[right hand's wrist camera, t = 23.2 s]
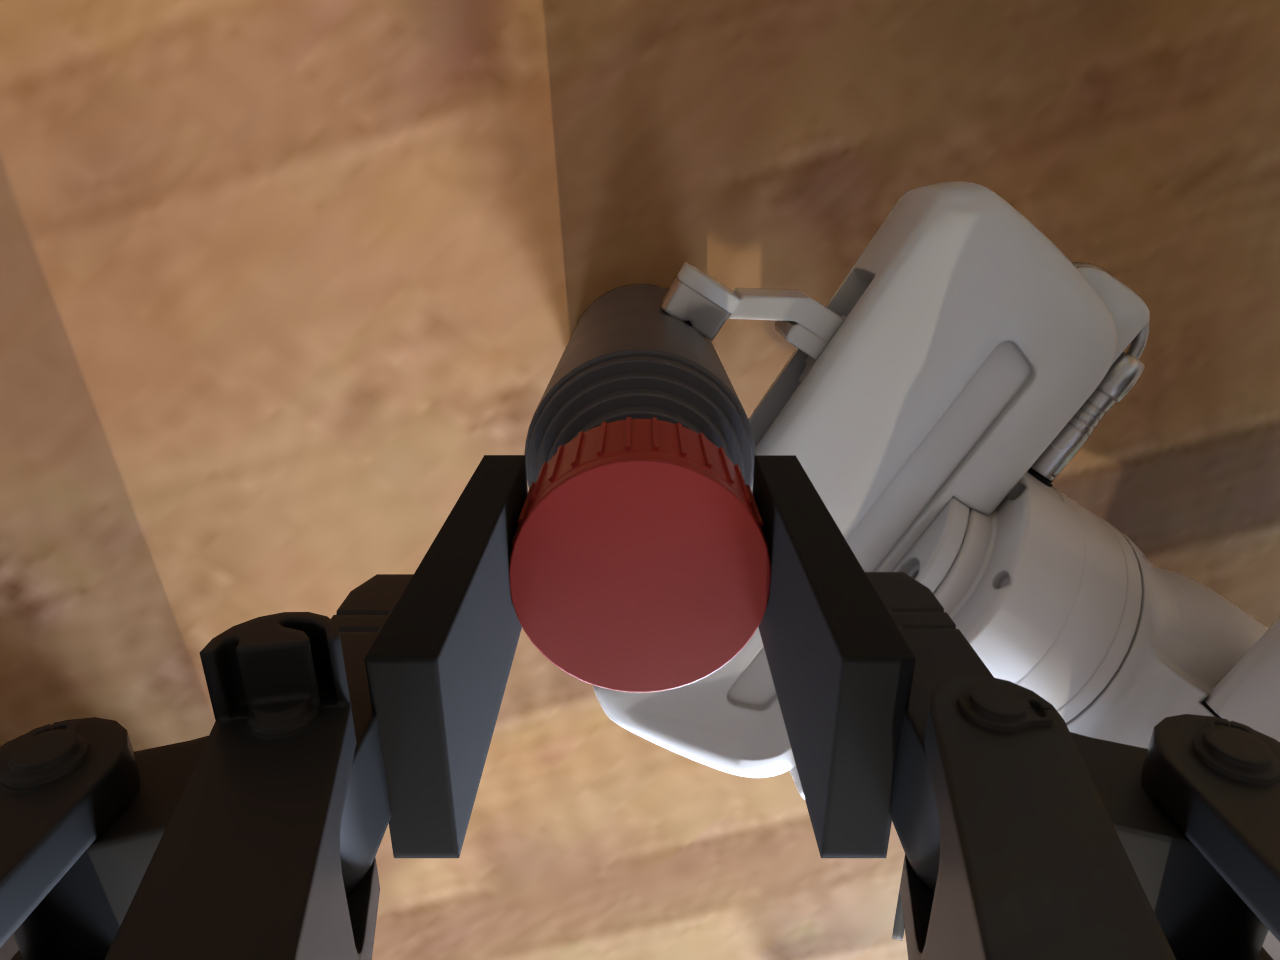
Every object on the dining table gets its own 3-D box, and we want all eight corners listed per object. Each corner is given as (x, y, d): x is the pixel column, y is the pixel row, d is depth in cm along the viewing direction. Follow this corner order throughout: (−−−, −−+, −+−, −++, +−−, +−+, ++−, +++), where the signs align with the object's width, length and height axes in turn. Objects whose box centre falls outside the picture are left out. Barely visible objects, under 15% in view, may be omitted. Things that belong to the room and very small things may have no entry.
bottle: (736, 335, 29) (862, 522, 13) (657, 445, 31) (678, 740, 14) (620, 255, 28) (592, 343, 12) (545, 372, 30) (426, 598, 13)
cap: (803, 519, 14) (832, 576, 12) (645, 663, 15) (646, 739, 13) (633, 364, 13) (632, 396, 11) (477, 531, 14) (450, 589, 12)
